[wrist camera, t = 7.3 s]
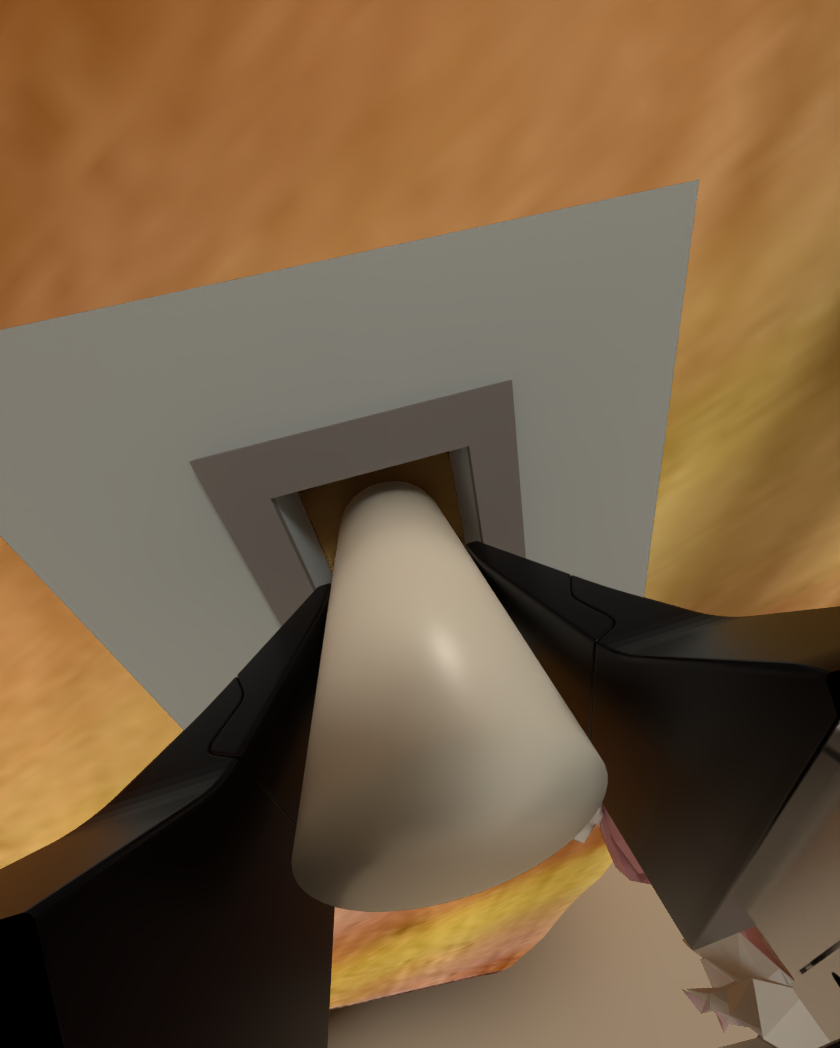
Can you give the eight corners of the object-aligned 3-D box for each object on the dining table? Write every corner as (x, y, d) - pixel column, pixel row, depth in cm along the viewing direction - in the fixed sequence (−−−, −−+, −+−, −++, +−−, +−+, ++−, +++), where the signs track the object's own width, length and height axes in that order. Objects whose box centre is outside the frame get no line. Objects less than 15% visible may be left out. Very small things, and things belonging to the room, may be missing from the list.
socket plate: (623, 225, 10) (711, 171, 8) (601, 600, 17) (644, 638, 14) (-26, 370, 9) (-185, 363, 6) (240, 713, 16) (217, 776, 13)
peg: (431, 468, 11) (618, 683, 3) (450, 559, 13) (601, 847, 5) (324, 497, 11) (223, 814, 3) (358, 586, 13) (354, 938, 5)
